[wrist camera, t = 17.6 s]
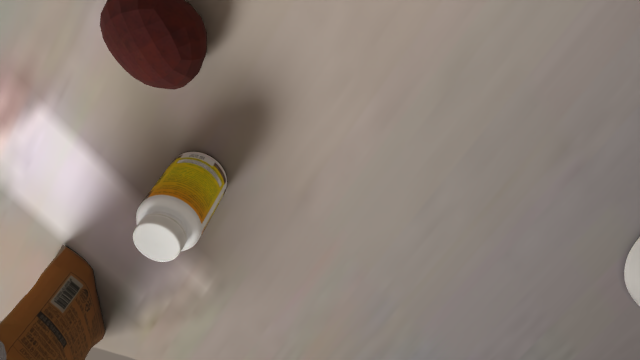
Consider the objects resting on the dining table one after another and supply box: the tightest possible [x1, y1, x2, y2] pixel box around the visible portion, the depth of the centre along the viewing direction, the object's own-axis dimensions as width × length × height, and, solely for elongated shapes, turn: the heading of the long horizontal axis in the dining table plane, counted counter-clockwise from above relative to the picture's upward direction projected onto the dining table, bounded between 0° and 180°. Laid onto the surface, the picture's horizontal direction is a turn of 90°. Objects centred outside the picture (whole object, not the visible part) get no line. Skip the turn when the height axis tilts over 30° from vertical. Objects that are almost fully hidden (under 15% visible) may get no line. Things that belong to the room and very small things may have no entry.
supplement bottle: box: [133, 152, 227, 262], centre depth 50 cm, size 6×6×10 cm
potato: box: [100, 0, 207, 89], centre depth 44 cm, size 7×8×6 cm
